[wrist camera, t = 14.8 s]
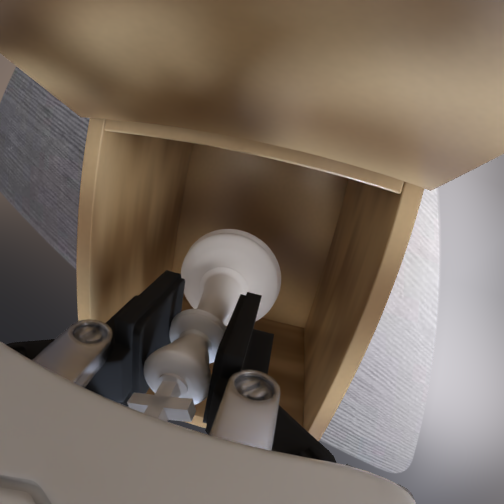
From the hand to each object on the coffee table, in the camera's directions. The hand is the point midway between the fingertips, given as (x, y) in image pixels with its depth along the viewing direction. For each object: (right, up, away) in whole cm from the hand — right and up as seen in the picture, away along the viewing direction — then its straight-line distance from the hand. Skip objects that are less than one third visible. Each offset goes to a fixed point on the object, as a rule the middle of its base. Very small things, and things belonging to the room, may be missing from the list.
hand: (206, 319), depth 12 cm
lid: (+1, +6, -9) cm, 11 cm away
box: (+2, +4, +12) cm, 13 cm away
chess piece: (+1, +1, +4) cm, 5 cm away
